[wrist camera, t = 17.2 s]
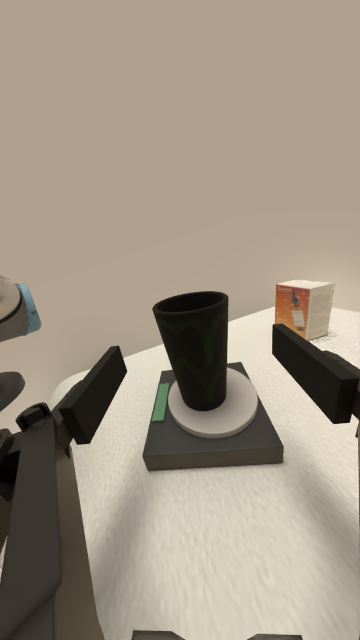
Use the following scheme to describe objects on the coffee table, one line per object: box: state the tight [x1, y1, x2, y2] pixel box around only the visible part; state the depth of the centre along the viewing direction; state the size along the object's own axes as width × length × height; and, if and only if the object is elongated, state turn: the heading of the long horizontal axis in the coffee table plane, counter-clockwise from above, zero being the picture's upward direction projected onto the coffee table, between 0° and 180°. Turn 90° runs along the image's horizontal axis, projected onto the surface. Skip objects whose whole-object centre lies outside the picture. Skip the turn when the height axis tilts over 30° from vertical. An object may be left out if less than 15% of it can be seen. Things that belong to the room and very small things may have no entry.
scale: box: [143, 362, 284, 470], centre depth 22 cm, size 13×13×3 cm
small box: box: [275, 280, 335, 341], centre depth 35 cm, size 8×6×10 cm
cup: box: [152, 291, 228, 411], centre depth 19 cm, size 8×8×12 cm
